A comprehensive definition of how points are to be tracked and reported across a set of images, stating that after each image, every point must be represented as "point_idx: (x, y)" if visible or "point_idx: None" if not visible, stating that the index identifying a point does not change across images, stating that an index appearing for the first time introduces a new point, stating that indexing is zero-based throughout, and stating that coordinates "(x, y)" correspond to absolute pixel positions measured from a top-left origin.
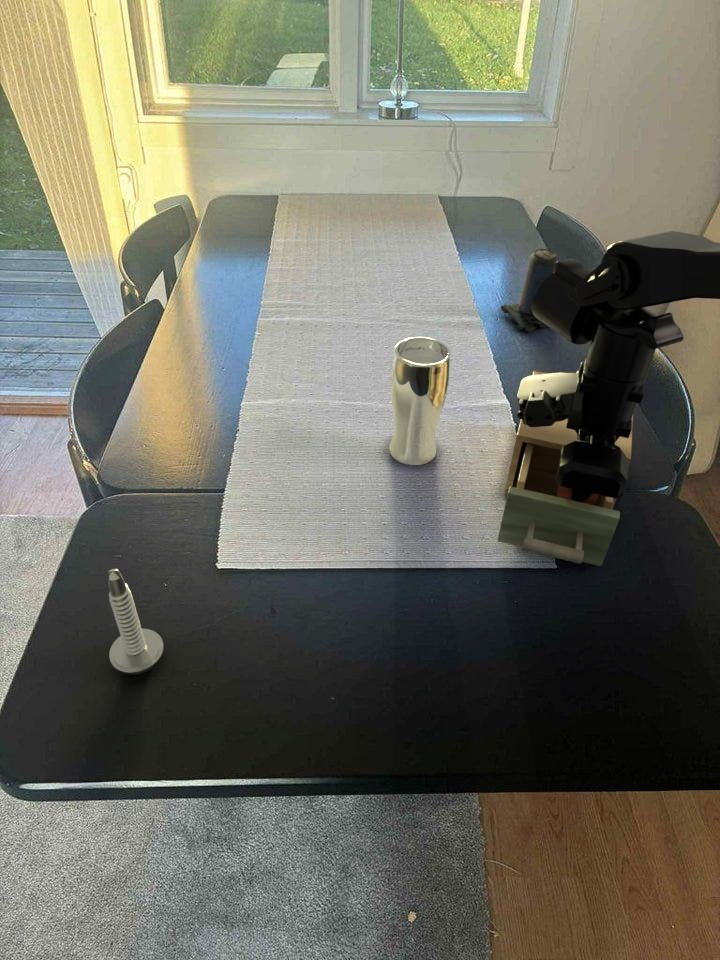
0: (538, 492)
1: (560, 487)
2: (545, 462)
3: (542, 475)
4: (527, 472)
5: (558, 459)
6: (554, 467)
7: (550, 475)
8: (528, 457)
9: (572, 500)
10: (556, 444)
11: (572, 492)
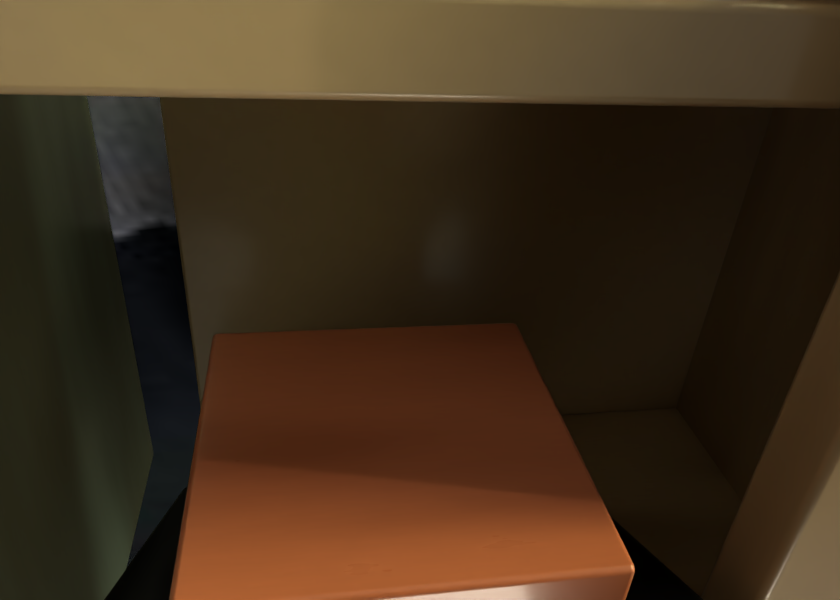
0: (545, 112)
1: (192, 462)
2: (820, 146)
3: (727, 119)
4: (278, 97)
5: (823, 250)
6: (778, 204)
7: (729, 170)
8: (621, 73)
9: (184, 493)
10: (836, 415)
11: (119, 582)
